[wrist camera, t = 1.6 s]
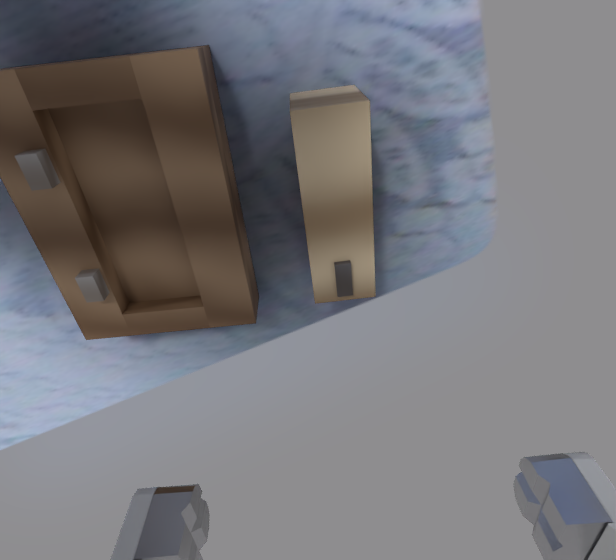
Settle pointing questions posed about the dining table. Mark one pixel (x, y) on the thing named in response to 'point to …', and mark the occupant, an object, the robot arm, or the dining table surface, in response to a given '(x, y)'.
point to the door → (336, 189)
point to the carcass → (130, 190)
